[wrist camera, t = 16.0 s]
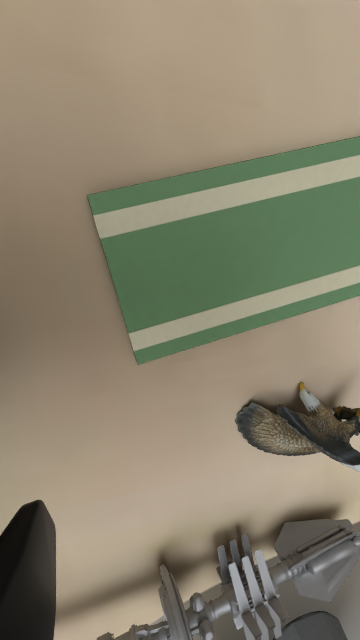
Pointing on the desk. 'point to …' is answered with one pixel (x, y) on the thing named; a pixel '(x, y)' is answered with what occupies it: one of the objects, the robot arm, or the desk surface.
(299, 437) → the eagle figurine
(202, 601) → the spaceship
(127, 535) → the desk surface
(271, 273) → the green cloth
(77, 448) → the desk surface
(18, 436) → the desk surface
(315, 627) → the coffeepot
